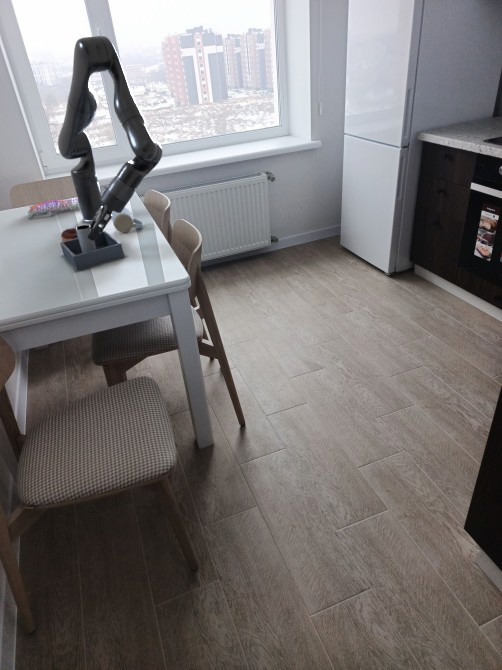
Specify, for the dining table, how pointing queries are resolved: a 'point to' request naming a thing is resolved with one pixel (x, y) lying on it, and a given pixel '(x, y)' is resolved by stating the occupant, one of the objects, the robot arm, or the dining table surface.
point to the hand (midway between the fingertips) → (90, 234)
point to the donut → (69, 234)
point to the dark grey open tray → (104, 252)
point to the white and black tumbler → (85, 238)
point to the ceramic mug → (125, 221)
